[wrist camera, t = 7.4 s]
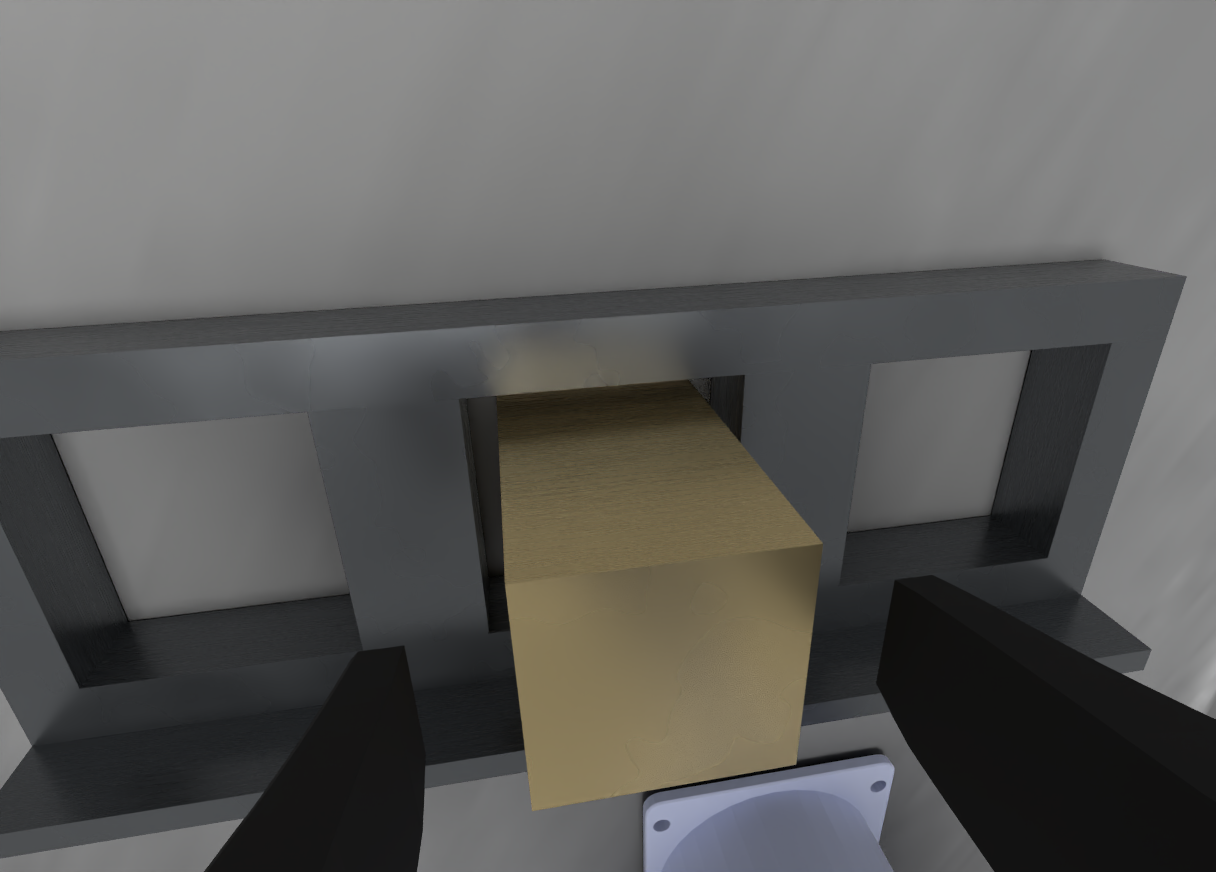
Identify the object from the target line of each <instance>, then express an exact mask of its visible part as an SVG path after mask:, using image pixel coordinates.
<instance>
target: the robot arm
mask: <svg viewBox="0 0 1216 872" xmlns="http://www.w3.org/2000/svg"><path fill="white" fill-rule="evenodd" d="M876 684H877V686H878V688H879V690H880V692H881V694H882V696H883V698H884V700H885V702H886V704H887V706H888V708H889V710H890V712H891V714H892V716H893V718H894V720H895V722H896V724H897V725H898V727H899V729H900V731H901V733H902V735H903V736H904V738H905V740H906V742H907V744H908V746H909V747H910V749H911V750H912V752H913V753H914V755H915V756H916V758H917V760H918V761H919V763H920V764H921V766H922V767H923V768H924V770H925V771H926V773H927V774H928V776H929V777H930V779H931V780H932V782H933V783H934V785H935V786H936V788H937V789H938V791H939V792H940V794H941V795H942V796H943V798H944V799H945V801H946V802H947V804H948V805H949V807H950V808H951V810H952V811H953V812H954V814H955V815H956V817H957V818H958V820H959V821H960V823H961V824H962V825H963V827H964V828H965V830H966V831H967V833H968V834H969V836H970V837H971V838H972V840H973V841H974V843H975V844H976V846H977V847H978V849H979V850H980V852H981V853H982V854H983V856H984V857H985V859H986V860H987V862H988V863H989V865H990V866H991V867H992V869H993V870H994V872H1216V719H1214V718H1211V717H1209V716H1207V715H1205V714H1203V713H1201V712H1199V711H1196V710H1194V709H1192V708H1190V707H1188V706H1186V705H1184V704H1182V703H1180V702H1178V701H1176V700H1174V699H1172V698H1170V697H1168V696H1165V695H1163V694H1161V693H1159V692H1157V691H1155V690H1153V689H1151V688H1149V687H1147V686H1145V685H1143V684H1141V683H1139V682H1137V681H1135V680H1133V679H1131V678H1129V677H1127V676H1125V675H1123V674H1121V673H1119V672H1117V671H1115V670H1113V669H1111V668H1109V667H1107V666H1105V665H1103V664H1101V663H1099V662H1098V661H1096V660H1094V659H1092V658H1090V657H1088V656H1086V655H1084V654H1082V653H1080V652H1078V651H1077V650H1075V649H1073V648H1071V647H1069V646H1067V645H1065V644H1063V643H1061V642H1060V641H1058V640H1056V639H1054V638H1052V637H1050V636H1048V635H1047V634H1045V633H1043V632H1041V631H1039V630H1037V629H1035V628H1034V627H1032V626H1030V625H1028V624H1026V623H1024V622H1022V621H1021V620H1019V619H1017V618H1015V617H1013V616H1011V615H1010V614H1008V613H1006V612H1004V611H1002V610H1000V609H998V608H997V607H995V606H993V605H991V604H989V603H987V602H985V601H983V600H982V599H980V598H978V597H976V596H974V595H972V594H970V593H968V592H966V591H964V590H962V589H960V588H959V587H957V586H955V585H953V584H950V583H948V582H946V581H944V580H942V579H940V578H938V577H936V576H933V575H927V576H919V577H912V578H904V579H897V580H895V581H894V586H893V592H892V597H891V603H890V608H889V614H888V619H887V625H886V630H885V636H884V641H883V647H882V652H881V658H880V663H879V669H878V674H877V680H876ZM425 761H426V752H425V747H424V742H423V737H422V732H421V727H420V722H419V717H418V712H417V707H416V702H415V697H414V691H413V686H412V681H411V676H410V671H409V666H408V661H407V656H406V651H405V646H404V645H403V646H396V647H389V648H381V649H374V650H366V651H359V652H357V653H356V654H355V656H354V657H353V658H352V659H351V660H350V662H349V663H348V665H347V667H346V668H345V670H344V672H343V673H342V675H341V676H340V678H339V680H338V681H337V683H336V684H335V686H334V688H333V689H332V691H331V693H330V694H329V696H328V697H327V699H326V700H325V702H324V704H323V705H322V707H321V708H320V710H319V711H318V713H317V714H316V716H315V718H314V719H313V721H312V722H311V724H310V725H309V727H308V728H307V730H306V731H305V733H304V734H303V736H302V737H301V739H300V740H299V742H298V743H297V745H296V746H295V748H294V749H293V751H292V752H291V753H290V755H289V756H288V758H287V759H286V761H285V762H284V764H283V765H282V766H281V768H280V769H279V771H278V772H277V774H276V775H275V777H274V778H273V779H272V781H271V782H270V784H269V785H268V787H267V788H266V790H265V791H264V792H263V794H262V795H261V797H260V798H259V799H258V801H257V802H256V804H255V805H254V806H253V808H252V809H251V810H250V812H249V813H248V814H247V816H246V817H245V818H244V820H243V821H242V822H241V824H240V825H239V826H238V828H237V829H236V830H235V832H234V833H233V834H232V835H231V837H230V838H229V839H228V841H227V842H226V843H225V845H224V846H223V847H222V849H221V850H220V851H219V853H218V854H217V855H216V857H215V858H214V859H213V861H212V862H211V863H210V865H209V866H208V867H207V868H206V870H205V871H204V872H417V867H418V860H419V853H420V846H421V838H422V831H423V811H424V789H425ZM893 776H894V766H893V765H892V763H891V762H890V760H889V759H888V757H887V756H885V755H882V754H876V755H870V756H864V757H858V758H853V759H847V760H841V761H836V762H830V763H824V764H818V765H813V766H807V767H801V768H795V769H790V770H784V771H778V772H772V773H767V774H761V775H755V776H749V777H744V778H738V779H732V780H726V781H721V782H715V783H709V784H703V785H698V786H692V787H686V788H680V789H675V790H669V791H663V792H658V793H655V794H652V795H651V796H649V797H648V798H647V799H646V801H645V802H644V805H643V872H894V871H893V869H892V867H891V865H890V864H889V862H888V860H887V858H886V856H885V855H884V853H883V851H882V849H881V847H880V846H879V840H880V835H881V831H882V826H883V821H884V817H885V812H886V808H887V803H888V799H889V794H890V789H891V785H892V780H893Z"/></svg>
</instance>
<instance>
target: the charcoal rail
mask: <svg viewBox="0 0 1216 872" xmlns="http://www.w3.org/2000/svg"><path fill="white" fill-rule="evenodd" d="M1186 277H1187V276H1182V275H1177V274H1172V273H1167V272H1162V271H1158V270H1153V269H1148V268H1143V267H1138V266H1133V265H1128V264H1123V263H1119V262H1114V261H1109V260H1091V261H1076V262H1060V263H1045V264H1030V265H1014V266H999V267H984V268H968V269H953V270H938V271H922V272H907V273H892V274H877V275H861V276H846V277H831V278H815V279H800V280H785V281H769V282H754V283H739V284H723V285H708V286H693V287H677V288H662V289H647V290H632V291H616V292H601V293H586V294H570V295H555V296H540V297H524V298H509V299H494V300H478V301H463V302H448V303H432V304H417V305H402V306H387V307H371V308H356V309H341V310H325V311H310V312H295V313H279V314H264V315H249V316H233V317H218V318H203V319H187V320H172V321H157V322H142V323H126V324H111V325H96V326H80V327H65V328H50V329H34V330H19V331H4V332H0V688H1V690H2V692H3V693H4V695H5V697H6V699H7V701H8V703H9V704H10V706H11V708H12V710H13V712H14V714H15V715H16V717H17V719H18V721H19V723H20V725H21V726H22V728H23V730H24V732H25V734H26V736H27V737H28V739H29V741H30V743H31V745H32V747H31V749H30V750H29V752H28V753H27V754H26V756H25V757H24V758H23V760H22V761H21V762H20V764H19V765H18V766H17V768H16V769H15V771H14V772H13V773H12V775H11V776H10V777H9V779H8V780H7V781H6V783H5V784H4V786H3V787H2V788H1V790H0V858H6V857H12V856H18V855H24V854H30V853H36V852H42V851H48V850H54V849H60V848H66V847H72V846H78V845H84V844H90V843H97V842H103V841H109V840H115V839H121V838H127V837H133V836H139V835H145V834H151V833H157V832H163V831H169V830H175V829H181V828H187V827H194V826H200V825H206V824H212V823H218V822H224V821H230V820H236V819H242V818H245V817H246V816H247V814H248V813H249V812H250V810H251V809H252V808H253V806H254V805H255V804H256V802H257V801H258V799H259V798H260V797H261V795H262V794H263V792H264V791H265V790H266V788H267V787H268V785H269V784H270V782H271V781H272V779H273V778H274V777H275V775H276V774H277V772H278V771H279V769H280V768H281V766H282V765H283V764H284V762H285V761H286V759H287V758H288V756H289V755H290V753H291V752H292V751H293V749H294V748H295V746H296V745H297V743H298V742H299V740H300V739H301V737H302V736H303V734H304V733H305V731H306V730H307V728H308V727H309V725H310V724H311V722H312V721H313V719H314V718H315V716H316V714H317V713H318V711H319V710H320V708H321V707H322V705H323V704H324V702H325V700H326V699H327V697H328V696H329V694H330V693H331V691H332V689H333V688H334V686H335V684H336V683H337V681H338V680H339V678H340V676H341V675H342V673H343V672H344V670H345V668H346V667H347V665H348V663H349V662H350V660H351V659H352V658H353V657H354V656H355V654H356V653H357V652H359V651H366V650H374V649H381V648H389V647H396V646H403V645H404V646H405V651H406V656H407V661H408V666H409V671H410V676H411V681H412V686H413V691H414V697H415V702H416V707H417V712H418V717H419V722H420V727H421V732H422V737H423V742H424V747H425V752H426V761H425V788H430V787H436V786H442V785H448V784H454V783H460V782H466V781H472V780H478V779H485V778H491V777H497V776H503V775H509V774H515V773H521V772H527V763H526V755H525V746H524V738H523V730H522V721H521V713H520V705H519V696H518V688H517V680H516V672H515V663H514V655H513V647H512V638H511V630H510V622H509V613H508V605H507V597H506V588H505V576H498V577H490V578H489V577H488V569H487V561H486V553H485V545H484V537H483V529H482V521H481V513H480V505H479V497H478V489H477V481H476V473H475V465H474V457H473V449H472V441H471V433H470V425H469V417H468V409H467V401H466V398H475V397H487V396H499V395H510V394H522V393H534V392H546V391H557V390H569V389H581V388H592V387H604V386H616V385H628V384H639V383H651V382H663V381H674V380H686V379H698V378H709V377H712V380H711V405H710V406H711V408H712V409H713V410H714V411H715V413H716V414H717V415H718V416H719V417H720V419H721V420H722V421H723V422H724V424H725V425H726V426H727V427H728V428H729V430H730V431H731V432H732V433H733V434H734V436H735V437H736V438H737V439H738V441H739V442H740V443H741V444H742V445H743V447H744V448H745V449H746V450H747V452H748V453H749V454H750V455H751V456H752V458H753V459H754V460H755V461H756V463H757V464H758V465H759V466H760V467H761V469H762V470H763V471H764V472H765V473H766V475H767V476H768V477H769V478H770V480H771V481H772V482H773V483H774V484H775V486H776V487H777V488H778V489H779V491H780V492H781V493H782V494H783V495H784V497H785V498H786V499H787V500H788V501H789V503H790V504H791V505H792V506H793V508H794V509H795V510H796V511H797V512H798V514H799V515H800V516H801V517H802V519H803V520H804V521H805V522H806V523H807V525H808V526H809V527H810V528H811V530H812V531H813V532H814V533H815V534H816V536H817V537H818V538H819V539H820V540H821V542H822V543H823V549H822V557H821V565H820V573H819V581H818V590H817V598H816V606H815V614H814V622H813V630H812V639H811V647H810V655H809V663H808V671H807V679H806V688H805V696H804V704H803V712H802V720H801V726H806V725H812V724H818V723H824V722H830V721H836V720H842V719H848V718H854V717H860V716H866V715H872V714H879V713H885V712H890V710H889V708H888V706H887V704H886V702H885V700H884V698H883V696H882V694H881V692H880V690H879V688H878V686H877V684H876V680H877V674H878V669H879V663H880V658H881V652H882V647H883V641H884V636H885V630H886V625H887V619H888V614H889V608H890V603H891V597H892V592H893V586H894V581H895V580H897V579H904V578H912V577H919V576H927V575H933V576H936V577H938V578H940V579H942V580H944V581H946V582H948V583H950V584H953V585H955V586H957V587H959V588H960V589H962V590H964V591H966V592H968V593H970V594H972V595H974V596H976V597H978V598H980V599H982V600H983V601H985V602H987V603H989V604H991V605H993V606H995V607H997V608H998V609H1000V610H1002V611H1004V612H1006V613H1008V614H1010V615H1011V616H1013V617H1015V618H1017V619H1019V620H1021V621H1022V622H1024V623H1026V624H1028V625H1030V626H1032V627H1034V628H1035V629H1037V630H1039V631H1041V632H1043V633H1045V634H1047V635H1048V636H1050V637H1052V638H1054V639H1056V640H1058V641H1060V642H1061V643H1063V644H1065V645H1067V646H1069V647H1071V648H1073V649H1075V650H1077V651H1078V652H1080V653H1082V654H1084V655H1086V656H1088V657H1090V658H1092V659H1094V660H1096V661H1098V662H1099V663H1101V664H1103V665H1105V666H1107V667H1109V668H1111V669H1113V670H1115V671H1117V672H1119V673H1127V672H1133V671H1139V670H1144V667H1145V665H1146V662H1147V660H1148V657H1149V655H1150V652H1151V649H1150V648H1149V647H1148V646H1146V645H1145V644H1144V643H1142V642H1141V641H1140V640H1139V639H1137V638H1136V637H1135V636H1133V635H1132V634H1131V633H1129V632H1128V631H1127V630H1126V629H1124V628H1123V627H1122V626H1120V625H1119V624H1118V623H1117V622H1115V621H1114V620H1113V619H1111V618H1110V617H1109V616H1108V615H1106V614H1105V613H1104V612H1102V611H1101V610H1100V609H1099V608H1097V607H1096V606H1095V605H1093V604H1092V603H1091V602H1089V601H1088V600H1087V599H1086V598H1084V597H1083V596H1082V595H1081V592H1082V589H1083V586H1084V583H1085V580H1086V577H1087V574H1088V571H1089V568H1090V565H1091V562H1092V559H1093V556H1094V553H1095V550H1096V547H1097V544H1098V541H1099V538H1100V535H1101V532H1102V529H1103V526H1104V523H1105V520H1106V517H1107V514H1108V511H1109V508H1110V505H1111V502H1112V499H1113V496H1114V493H1115V490H1116V487H1117V484H1118V481H1119V478H1120V475H1121V472H1122V469H1123V466H1124V463H1125V460H1126V457H1127V454H1128V451H1129V448H1130V445H1131V442H1132V439H1133V436H1134V433H1135V430H1136V427H1137V424H1138V421H1139V418H1140V415H1141V412H1142V409H1143V406H1144V403H1145V400H1146V397H1147V394H1148V391H1149V388H1150V385H1151V382H1152V379H1153V376H1154V373H1155V370H1156V367H1157V364H1158V361H1159V358H1160V355H1161V352H1162V349H1163V346H1164V343H1165V340H1166V337H1167V334H1168V331H1169V328H1170V325H1171V322H1172V319H1173V316H1174V313H1175V310H1176V307H1177V304H1178V301H1179V298H1180V295H1181V292H1182V289H1183V286H1184V283H1185V280H1186ZM1026 350H1032V354H1031V358H1030V362H1029V366H1028V370H1027V374H1026V378H1025V382H1024V386H1023V390H1022V394H1021V398H1020V402H1019V406H1018V410H1017V414H1016V418H1015V422H1014V426H1013V430H1012V434H1011V438H1010V442H1009V446H1008V451H1007V455H1006V459H1005V463H1004V467H1003V471H1002V475H1001V479H1000V483H999V487H998V491H997V495H996V499H995V503H994V507H993V511H992V515H991V516H985V517H977V518H968V519H960V520H952V521H944V522H936V523H928V524H920V525H912V526H904V527H895V528H887V529H879V530H871V531H863V532H855V533H847V528H848V521H849V514H850V507H851V500H852V493H853V486H854V479H855V472H856V465H857V458H858V451H859V444H860V438H861V431H862V424H863V417H864V410H865V403H866V396H867V389H868V382H869V375H870V368H871V364H873V363H885V362H897V361H908V360H920V359H932V358H944V357H955V356H967V355H979V354H990V353H1002V352H1014V351H1026ZM300 412H308V417H309V421H310V425H311V429H312V434H313V438H314V442H315V446H316V451H317V455H318V459H319V464H320V468H321V472H322V476H323V481H324V485H325V489H326V493H327V498H328V502H329V506H330V510H331V515H332V519H333V523H334V528H335V532H336V536H337V540H338V545H339V549H340V553H341V557H342V562H343V566H344V570H345V575H346V579H347V583H348V587H349V592H350V595H344V596H335V597H327V598H319V599H311V600H303V601H295V602H287V603H279V604H271V605H262V606H254V607H246V608H238V609H230V610H222V611H214V612H206V613H198V614H189V615H181V616H173V617H165V618H157V619H149V620H141V621H133V622H128V621H127V618H126V616H125V613H124V611H123V609H122V606H121V604H120V601H119V599H118V597H117V594H116V592H115V589H114V587H113V585H112V582H111V580H110V577H109V575H108V573H107V570H106V568H105V565H104V563H103V561H102V558H101V556H100V553H99V551H98V549H97V546H96V544H95V541H94V539H93V536H92V534H91V532H90V529H89V527H88V524H87V522H86V520H85V517H84V515H83V512H82V510H81V508H80V505H79V503H78V500H77V498H76V496H75V493H74V491H73V488H72V486H71V484H70V481H69V479H68V476H67V474H66V472H65V469H64V467H63V464H62V462H61V460H60V457H59V455H58V452H57V450H56V447H55V445H54V443H53V440H52V438H51V435H50V434H54V433H66V432H77V431H89V430H101V429H113V428H124V427H136V426H148V425H159V424H171V423H183V422H194V421H206V420H218V419H230V418H241V417H253V416H265V415H276V414H288V413H300Z"/></svg>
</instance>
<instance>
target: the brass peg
mask: <svg viewBox="0 0 1216 872" xmlns="http://www.w3.org/2000/svg"><path fill="white" fill-rule="evenodd" d="M497 418H498V440H499V462H500V484H501V506H502V528H503V551H504V573H505V588H506V597H507V605H508V613H509V622H510V630H511V638H512V647H513V655H514V663H515V672H516V680H517V688H518V696H519V705H520V713H521V721H522V730H523V738H524V746H525V755H526V763H527V771H528V780H529V788H530V796H531V804H532V811H536V810H542V809H547V808H553V807H559V806H564V805H570V804H576V803H581V802H587V801H593V800H598V799H604V798H610V797H616V796H621V795H627V794H633V793H638V792H644V791H650V790H655V789H661V788H667V787H672V786H678V785H684V784H689V783H695V782H701V781H706V780H712V779H718V778H723V777H729V776H735V775H740V774H746V773H752V772H757V771H763V770H769V769H774V768H780V767H786V766H791V765H796V761H797V753H798V745H799V737H800V729H801V720H802V712H803V704H804V696H805V688H806V679H807V671H808V663H809V655H810V647H811V639H812V630H813V622H814V614H815V606H816V598H817V590H818V581H819V573H820V565H821V557H822V549H823V543H822V542H821V540H820V539H819V538H818V537H817V536H816V534H815V533H814V532H813V531H812V530H811V528H810V527H809V526H808V525H807V523H806V522H805V521H804V520H803V519H802V517H801V516H800V515H799V514H798V512H797V511H796V510H795V509H794V508H793V506H792V505H791V504H790V503H789V501H788V500H787V499H786V498H785V497H784V495H783V494H782V493H781V492H780V491H779V489H778V488H777V487H776V486H775V484H774V483H773V482H772V481H771V480H770V478H769V477H768V476H767V475H766V473H765V472H764V471H763V470H762V469H761V467H760V466H759V465H758V464H757V463H756V461H755V460H754V459H753V458H752V456H751V455H750V454H749V453H748V452H747V450H746V449H745V448H744V447H743V445H742V444H741V443H740V442H739V441H738V439H737V438H736V437H735V436H734V434H733V433H732V432H731V431H730V430H729V428H728V427H727V426H726V425H725V424H724V422H723V421H722V420H721V419H720V417H719V416H718V415H717V414H716V413H715V411H714V410H713V409H712V408H711V406H710V405H709V404H708V403H707V402H706V400H705V399H704V398H703V397H702V396H701V394H700V393H699V392H698V391H697V389H696V388H695V387H694V386H693V385H692V383H691V382H690V381H689V380H688V379H686V380H674V381H663V382H651V383H639V384H628V385H616V386H604V387H592V388H581V389H569V390H557V391H546V392H534V393H522V394H510V395H499V396H497Z"/></svg>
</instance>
